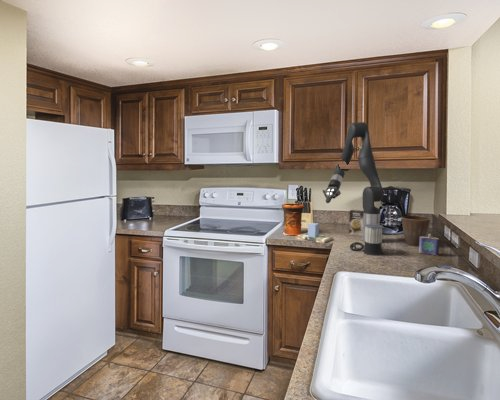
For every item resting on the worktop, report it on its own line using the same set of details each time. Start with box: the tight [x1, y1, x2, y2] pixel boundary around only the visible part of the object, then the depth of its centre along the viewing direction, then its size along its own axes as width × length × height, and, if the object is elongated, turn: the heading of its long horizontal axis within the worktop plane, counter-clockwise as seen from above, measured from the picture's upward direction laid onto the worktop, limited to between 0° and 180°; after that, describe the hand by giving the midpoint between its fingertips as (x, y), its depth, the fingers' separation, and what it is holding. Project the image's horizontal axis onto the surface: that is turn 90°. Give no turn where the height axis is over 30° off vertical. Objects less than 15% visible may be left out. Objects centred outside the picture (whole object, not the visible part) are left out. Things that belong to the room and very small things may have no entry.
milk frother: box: [349, 224, 384, 256], centre depth 185 cm, size 14×16×15 cm
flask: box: [418, 233, 440, 256], centre depth 180 cm, size 9×3×11 cm, turn 55°
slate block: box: [307, 222, 320, 238], centre depth 213 cm, size 5×5×8 cm
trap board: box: [297, 232, 334, 244], centre depth 215 cm, size 18×12×2 cm, turn 52°
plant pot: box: [401, 215, 431, 247], centre depth 200 cm, size 15×15×16 cm
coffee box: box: [348, 209, 364, 237], centre depth 228 cm, size 9×6×16 cm
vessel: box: [281, 202, 304, 236], centre depth 231 cm, size 14×14×20 cm
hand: (327, 202), depth 225 cm, fingers closed
